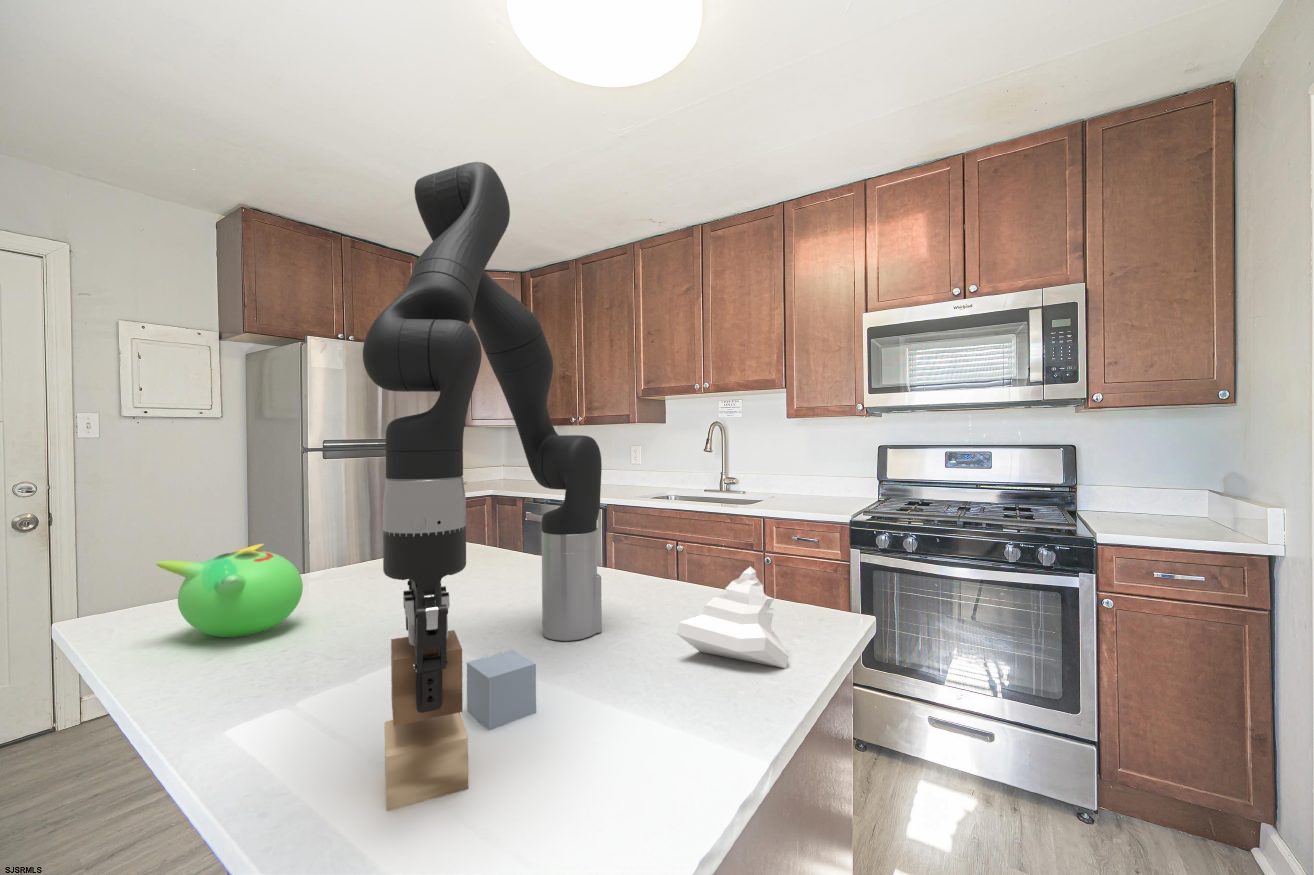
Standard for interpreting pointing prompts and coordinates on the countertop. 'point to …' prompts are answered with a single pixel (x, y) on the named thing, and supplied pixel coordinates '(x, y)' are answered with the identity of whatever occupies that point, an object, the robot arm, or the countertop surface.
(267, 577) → the toy bird
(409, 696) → the walnut block
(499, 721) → the slate block
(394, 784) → the oak base block
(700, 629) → the white seashell
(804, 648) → the countertop surface
